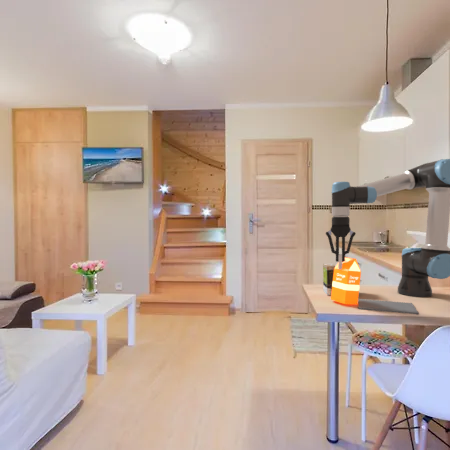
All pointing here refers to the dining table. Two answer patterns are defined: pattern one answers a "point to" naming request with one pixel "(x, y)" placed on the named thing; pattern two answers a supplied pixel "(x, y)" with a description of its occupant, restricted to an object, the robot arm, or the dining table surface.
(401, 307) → the mat
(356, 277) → the orange juice
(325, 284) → the tea box
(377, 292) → the dining table surface
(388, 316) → the dining table surface
